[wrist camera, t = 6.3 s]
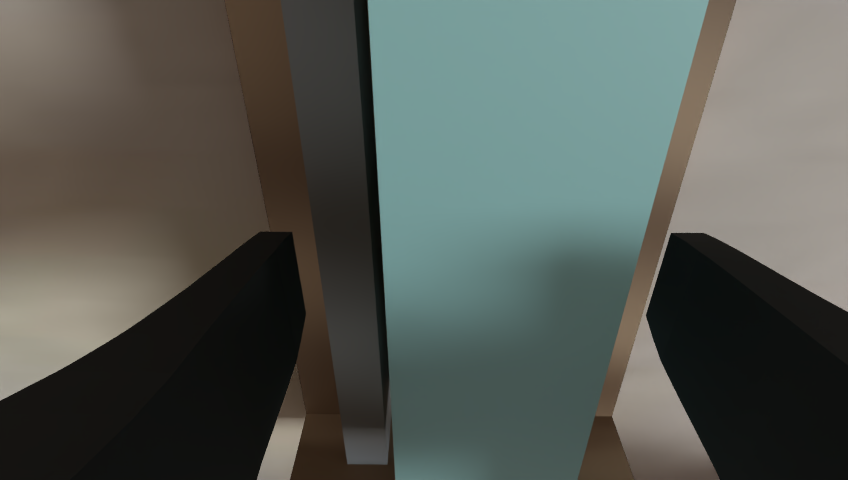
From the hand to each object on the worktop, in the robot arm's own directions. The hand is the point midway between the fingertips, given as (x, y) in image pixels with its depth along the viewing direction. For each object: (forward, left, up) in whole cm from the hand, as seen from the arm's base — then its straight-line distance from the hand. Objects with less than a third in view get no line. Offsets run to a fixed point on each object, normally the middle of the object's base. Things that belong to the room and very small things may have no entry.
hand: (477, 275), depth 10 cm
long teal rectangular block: (0, 0, -3) cm, 3 cm away
